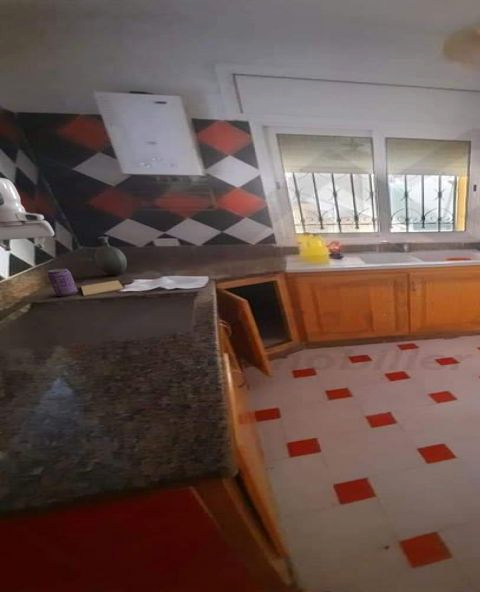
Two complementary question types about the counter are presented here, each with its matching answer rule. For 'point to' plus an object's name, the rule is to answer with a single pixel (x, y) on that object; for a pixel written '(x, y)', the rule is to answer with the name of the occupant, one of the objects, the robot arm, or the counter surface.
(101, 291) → the mat
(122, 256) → the flask
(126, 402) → the counter surface
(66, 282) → the beverage can
